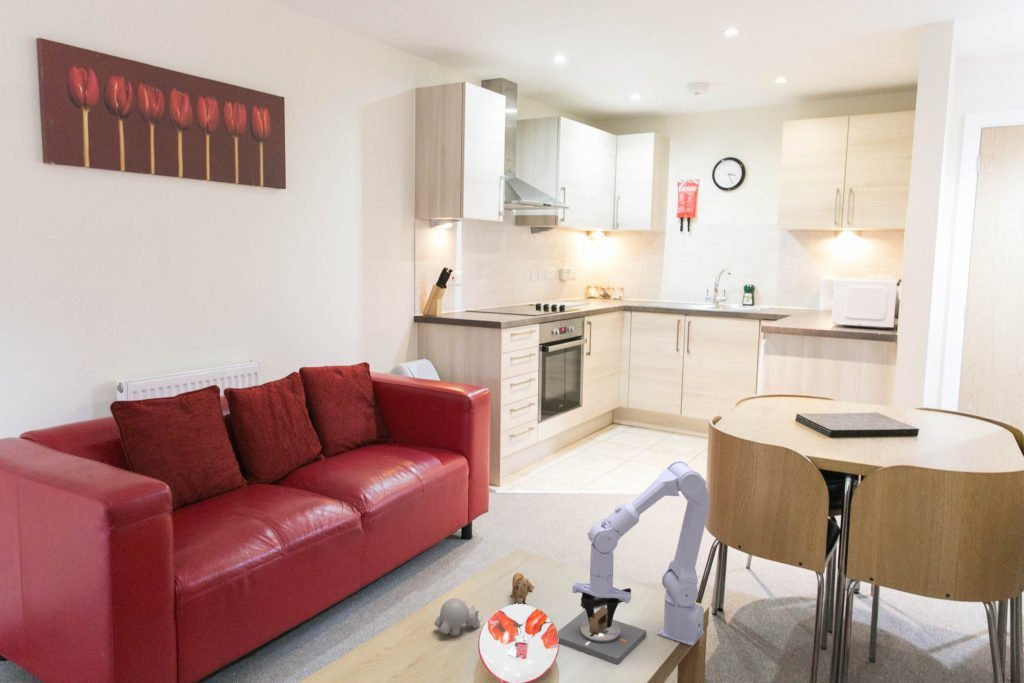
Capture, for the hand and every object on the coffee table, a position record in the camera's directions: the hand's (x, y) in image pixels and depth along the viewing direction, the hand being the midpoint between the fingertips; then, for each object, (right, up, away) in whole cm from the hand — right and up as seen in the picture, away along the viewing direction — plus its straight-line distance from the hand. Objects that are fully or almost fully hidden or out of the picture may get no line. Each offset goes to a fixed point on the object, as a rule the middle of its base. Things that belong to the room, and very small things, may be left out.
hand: (600, 623), depth 183 cm
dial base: (0, -4, 0) cm, 4 cm away
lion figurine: (-20, -2, +20) cm, 28 cm away
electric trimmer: (+4, -2, +20) cm, 20 cm away
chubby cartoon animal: (-36, -4, +4) cm, 36 cm away
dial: (0, -2, 0) cm, 2 cm away
